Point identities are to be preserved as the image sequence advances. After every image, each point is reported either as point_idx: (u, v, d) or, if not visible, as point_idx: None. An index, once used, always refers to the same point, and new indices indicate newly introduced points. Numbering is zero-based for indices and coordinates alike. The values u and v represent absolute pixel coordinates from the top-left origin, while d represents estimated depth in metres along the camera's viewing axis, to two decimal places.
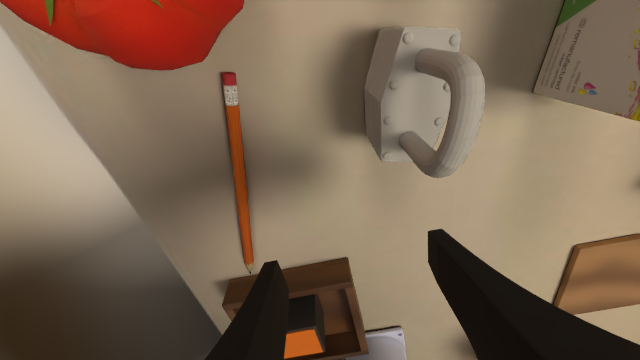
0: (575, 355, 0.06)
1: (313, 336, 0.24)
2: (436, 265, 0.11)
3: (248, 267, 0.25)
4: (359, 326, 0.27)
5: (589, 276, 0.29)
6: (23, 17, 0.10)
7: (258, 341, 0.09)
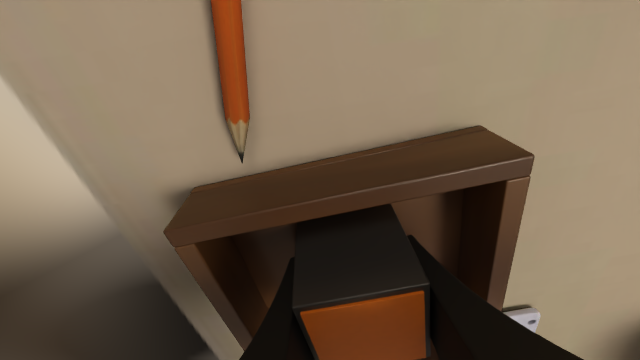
0: None
1: (415, 314, 0.09)
2: None
3: (236, 135, 0.10)
4: (498, 295, 0.12)
5: None
6: None
7: (294, 335, 0.09)
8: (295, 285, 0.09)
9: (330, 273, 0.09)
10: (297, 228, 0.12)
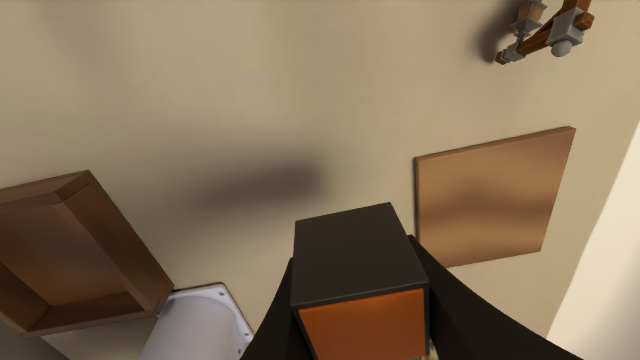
0: None
1: (415, 312, 0.09)
2: None
3: None
4: (115, 269, 0.19)
5: (446, 208, 0.21)
6: None
7: (294, 335, 0.09)
8: (293, 283, 0.09)
9: (329, 271, 0.09)
10: (296, 226, 0.12)
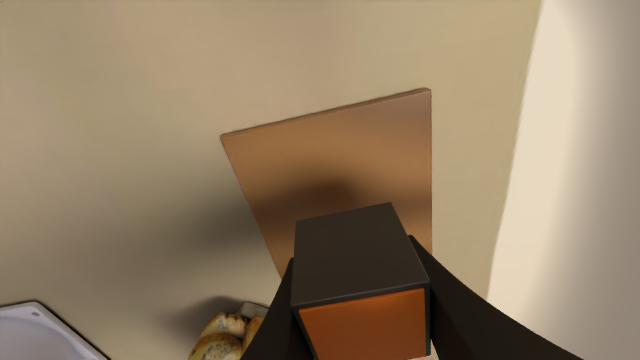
0: None
1: (415, 312, 0.09)
2: None
3: None
4: None
5: (286, 204, 0.16)
6: None
7: (294, 335, 0.09)
8: (294, 283, 0.09)
9: (329, 270, 0.09)
10: (296, 226, 0.12)
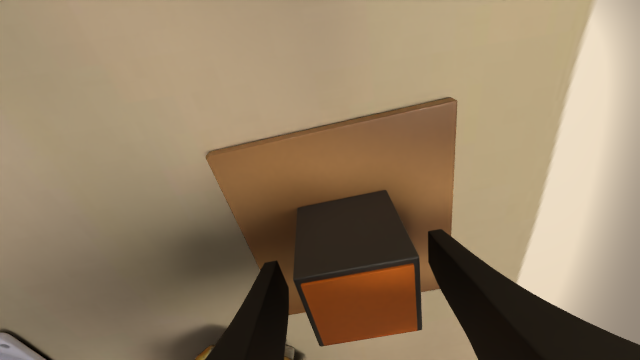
0: (575, 355, 0.06)
1: (406, 287, 0.09)
2: (436, 265, 0.11)
3: None
4: None
5: (284, 229, 0.14)
6: None
7: (258, 341, 0.09)
8: (296, 261, 0.10)
9: (328, 250, 0.10)
10: (298, 212, 0.13)
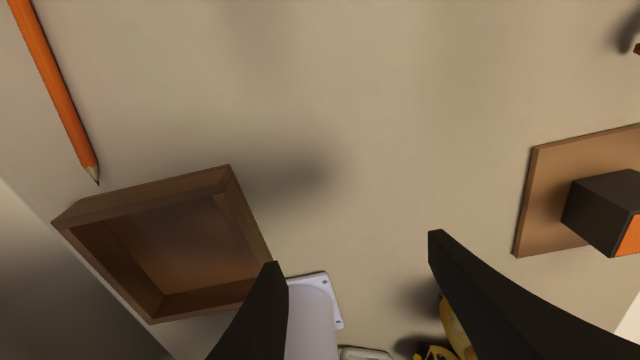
0: (575, 355, 0.06)
1: None
2: (436, 265, 0.11)
3: (89, 173, 0.19)
4: (250, 257, 0.21)
5: (555, 195, 0.22)
6: None
7: (258, 341, 0.09)
8: (618, 204, 0.18)
9: (634, 198, 0.18)
10: (578, 182, 0.21)
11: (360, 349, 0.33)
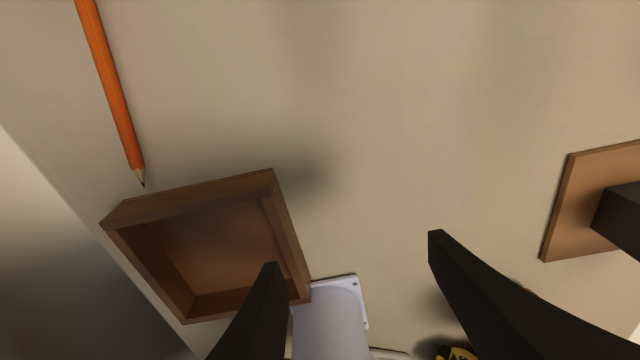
0: (575, 355, 0.06)
1: None
2: (436, 265, 0.11)
3: (137, 175, 0.19)
4: (290, 259, 0.21)
5: (587, 201, 0.22)
6: None
7: (258, 341, 0.09)
8: None
9: None
10: (611, 189, 0.21)
11: (382, 350, 0.33)
